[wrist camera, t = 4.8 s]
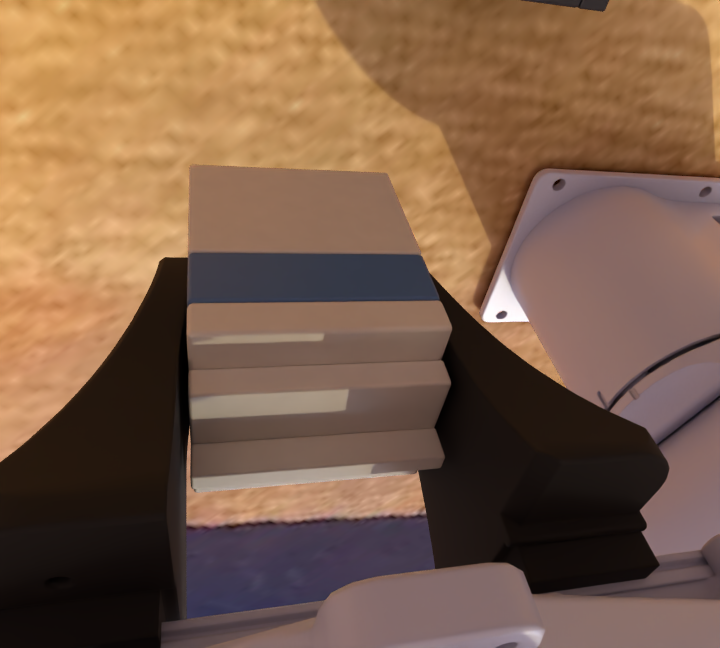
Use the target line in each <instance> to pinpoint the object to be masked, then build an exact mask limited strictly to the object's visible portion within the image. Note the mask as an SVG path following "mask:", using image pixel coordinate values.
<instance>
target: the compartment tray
mask: <svg viewBox="0 0 720 648" xmlns="http://www.w3.org/2000/svg"><path fill="white" fill-rule="evenodd" d="M522 1H529V2H537V3H544V4H552V5H559V6H567V7H574V8H575V7H578V8H580V9H587V10H594V11H602V12H603V11H605V9H606V6H607V4H608V2H609V0H522Z"/></svg>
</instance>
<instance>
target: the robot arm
mask: <svg viewBox="0 0 720 648" xmlns="http://www.w3.org/2000/svg"><path fill="white" fill-rule="evenodd" d="M559 179H561V180H560V182H559V183H558V184H556V185H553V184H554V182H555V181H557V180H559ZM702 189H703V190H702ZM701 190H702V191H701ZM429 274H430V273H429ZM187 276H188V258H169V257H165V258H163V259H162V260H161V261H160V262H159V265H158V268H157V271H156V274H155V277H154V279H153V281H152V284H151V286H150V288H149V290H148V292H147V294H146V296H145V298H144V300H143V302H142V303H141V305H140V307H139V309H138V311H137V312H136V314H135V316H134V318H133V320H132V321H131V323H130V325H129V326H128V328H127V329H126V331H125V332H124V334H123V335H122V337H121V338H120V340H119V341H118V343H117V344H116V346H115V347H114V349H113V350H112V351H111V353H110V354H109V355H108V357H107V358H106V359H105V361H104V362H103V363H102V365H101V366H100V367H99V368H98V370H97V371H96V372H95V373H94V375H93V376H92V377H91V378H90V379H89V380H88V382H87V383H86V384H85V385H84V386H83V387H82V388H81V389H80V390H79V392H78V393H77V394H76V395H75V396H74V397H73V398H72V399H71V400H70V401H69V402H68V403H67V404H66V405H65V406H64V407H63V408H62V409H61V410H60V411H59V412H58V413H57V414H56V415H55V416H54V417H53V418H52V419H51V420H50V421H49V422H48V423H46V424H45V425H44V426H43V427H42V428H41V429H40V430H39V431H38V432H37V433H36V434H34V435H33V436H32V437H31V438H30V439H29V440H28V441H27V442H25V443H24V444H23V445H22V446H21V447H19V448H18V449H17V450H16V451H14V452H13V453H12V454H10V455H9V456H8V457H7V458H5V459H4V460H3V461H1V462H0V648H720V178H710V177H693V176H675V175H657V174H639V173H622V172H604V171H586V170H568V169H551V168H548V169H543V170H541V171H539V172H538V173H537V174H536V175H535V176H534V178H533V180H532V182H531V185H530V187H529V190H528V192H527V195H526V197H525V200H524V202H523V205H522V207H521V209H520V212H519V214H518V217H517V219H516V222H515V224H514V227H513V229H512V232H511V234H510V237H509V239H508V242H507V244H506V247H505V249H504V252H503V254H502V257H501V259H500V261H499V264H498V266H497V269H496V271H495V274H494V276H493V279H492V281H491V284H490V286H489V289H488V291H487V294H486V296H485V299H484V301H483V304H482V306H481V309H480V312H479V314H480V316H481V318H482V320H483V321H485V322H530V324H531V325H532V327H533V329H534V331H535V333H536V334H537V336H538V338H539V340H540V341H541V343H542V345H543V347H544V349H545V350H546V352H547V354H548V356H549V357H550V359H551V361H552V363H553V365H554V366H555V368H556V370H557V372H558V373H559V375H560V377H561V379H562V381H563V382H564V384H565V386H566V388H565V387H563V386H562V385H560V384H558V383H557V382H555V381H554V380H552V379H551V378H549V377H547V376H546V375H544V374H543V373H541V372H540V371H538V370H537V369H535V368H534V367H532V366H531V365H530V364H528V363H527V362H525V361H524V360H523V359H522V358H520V357H519V356H518V355H516V354H515V353H514V352H512V351H511V350H510V349H508V348H507V347H506V346H505V345H503V344H502V343H501V342H500V341H499V340H497V339H496V338H495V337H494V336H493V335H492V334H491V333H489V332H488V331H487V330H486V329H485V328H484V327H483V326H481V325H480V324H479V323H478V322H477V321H476V320H475V319H474V318H473V317H472V316H471V315H470V314H469V313H468V312H467V311H466V310H465V309H464V308H463V307H462V306H461V305H460V304H459V303H458V302H457V301H456V300H455V299H454V298H453V297H452V296H451V295H450V294H449V293H448V292H447V291H446V290H445V289H444V288H443V287H442V286H441V285H440V284H439V283H438V281H437V280H436V279H435V278H434V277H433V276H432V275H431V274H430V276H431V278H432V281H433V283H434V285H435V288H436V290H437V292H438V295H439V298H440V299H439V301H440V302H441V303H442V304H443V307H444V309H445V311H446V314H447V316H448V318H449V321H450V323H451V325H452V331H451V334H450V337H449V340H448V342H447V345H446V348H445V351H444V353H443V356H442V359H441V361H443V362H444V364H445V367H446V369H447V372H448V375H449V377H450V380H451V386H450V389H449V392H448V394H447V397H446V399H445V402H444V404H443V407H442V409H441V412H440V414H439V417H438V419H437V422H436V424H435V427H434V428H435V429H436V431H437V434H438V437H439V440H440V443H441V446H442V449H443V452H444V455H445V459H444V461H443V464H442V466H441V468H437V469H426V470H418V472H419V477H420V482H421V487H422V492H423V497H424V503H425V508H426V513H427V519H428V525H429V531H430V537H431V543H432V549H433V555H434V563H435V569H433V570H426V571H418V572H410V573H402V574H394V575H386V576H379V577H374V578H369V579H365V580H361V581H357V582H353V583H350V584H348V585H346V586H344V587H342V588H340V589H338V590H336V591H334V592H332V593H331V594H330V596H329V597H328V598H327V599H326V600H325V601H318V602H311V603H303V604H296V605H289V606H281V607H274V608H266V609H259V610H252V611H244V612H237V613H229V614H222V615H215V616H207V617H200V618H192V619H187V609H186V462H187V445H188V436H189V426H190V420H189V404H188V373H189V369H188V352H187V335H186V333H187ZM501 311H502V312H501ZM499 312H500V313H499Z"/></svg>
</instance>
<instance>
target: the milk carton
mask: <svg viewBox="0 0 720 648" xmlns="http://www.w3.org/2000/svg"><path fill="white" fill-rule="evenodd" d="M439 299H440V298H439V295H438V292H437V290H436V288H435V285H434V283H433V281H432V278H431V276H430V274H429V271H428V269H427V267H426V264H425V262H424V260H423V257H422V256H421V251H420V249H419V247H418V244H417V242H416V240H415V237H414V235H413V233H412V230H411V228H410V226H409V223H408V221H407V219H406V216H405V214H404V212H403V209H402V207H401V205H400V202H399V200H398V198H397V195H396V193H395V191H394V188H393V186H392V184H391V181H390V179H389V177H388V174H387V173H376V172H353V171H330V170H306V169H283V168H260V167H237V166H214V165H190V167H189V214H188V276H187V333H186V335H187V352H188V369H189V373H188V404H189V420H190V437H191V487H192V489H194V491H195V492H197V493H199V492H210V491H222V490H233V489H245V488H257V487H268V486H280V485H291V484H303V483H315V482H326V481H338V480H350V479H361V478H373V477H384V476H396V475H408V474H415V473H417V470H426V469H437V468H441V466H442V464H443V461H444V459H445V455H444V452H443V449H442V446H441V443H440V440H439V437H438V434H437V431H436V429H435V428H434V427H435V424H436V422H437V419H438V417H439V414H440V412H441V409H442V407H443V404H444V402H445V399H446V397H447V394H448V392H449V389H450V386H451V380H450V377H449V375H448V372H447V369H446V367H445V364H444V362H443V361H441V359H442V356H443V353H444V351H445V348H446V345H447V342H448V340H449V337H450V334H451V331H452V325H451V323H450V321H449V318H448V316H447V314H446V311H445V309H444V307H443V304H442V303H441V302H440V301H439Z"/></svg>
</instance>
